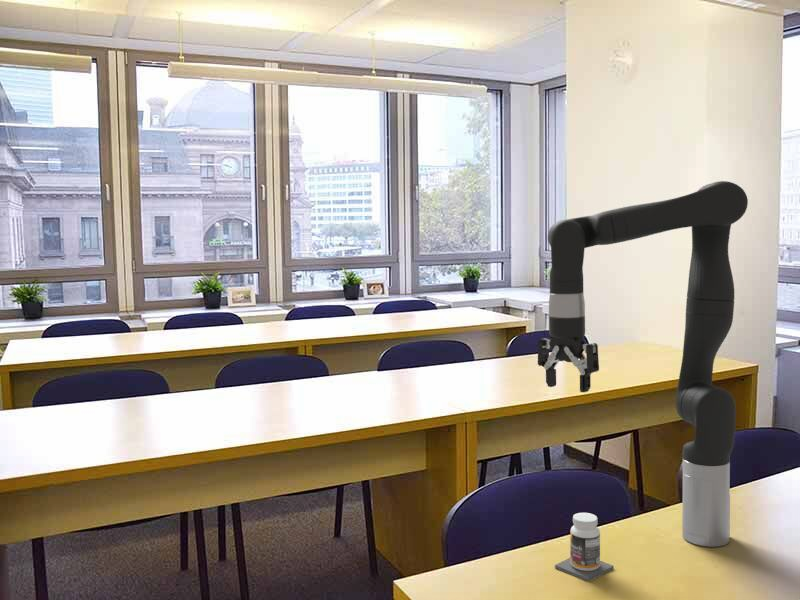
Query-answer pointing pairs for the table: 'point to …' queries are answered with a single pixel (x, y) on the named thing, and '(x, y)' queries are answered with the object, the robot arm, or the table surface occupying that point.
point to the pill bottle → (585, 542)
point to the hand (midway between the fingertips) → (567, 389)
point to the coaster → (584, 575)
